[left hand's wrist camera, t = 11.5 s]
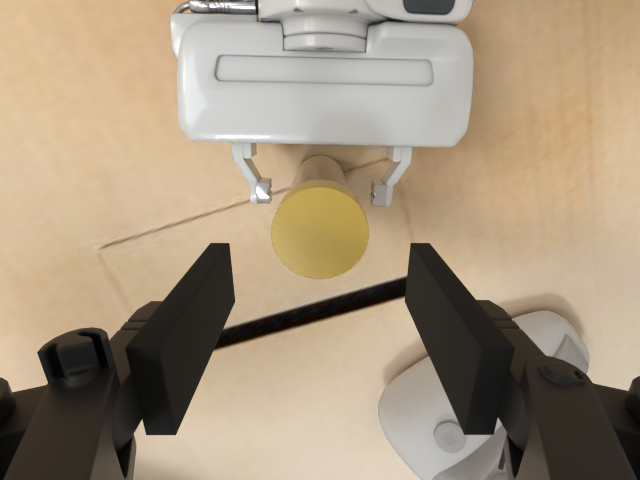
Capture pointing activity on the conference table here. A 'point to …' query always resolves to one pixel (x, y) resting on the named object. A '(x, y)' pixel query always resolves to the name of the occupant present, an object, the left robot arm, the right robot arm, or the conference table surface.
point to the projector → (440, 420)
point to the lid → (320, 229)
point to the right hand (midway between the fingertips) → (321, 203)
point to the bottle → (319, 171)
